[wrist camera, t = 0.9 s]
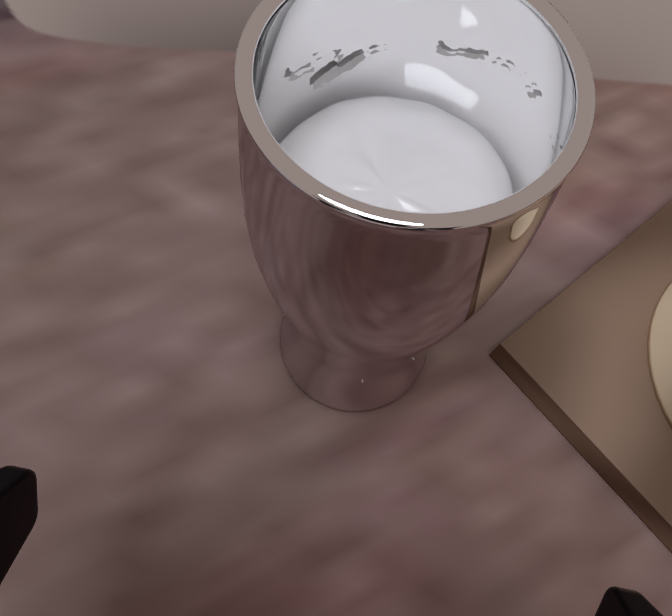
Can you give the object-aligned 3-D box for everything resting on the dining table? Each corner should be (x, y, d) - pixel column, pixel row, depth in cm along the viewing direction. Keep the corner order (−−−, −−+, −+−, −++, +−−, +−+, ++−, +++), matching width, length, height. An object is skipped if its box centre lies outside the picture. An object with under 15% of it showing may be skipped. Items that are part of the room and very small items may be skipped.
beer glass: (234, 340, 24) (138, 63, 10) (350, 235, 26) (400, -114, 12) (357, 461, 23) (440, 326, 9) (470, 339, 25) (682, 73, 11)
